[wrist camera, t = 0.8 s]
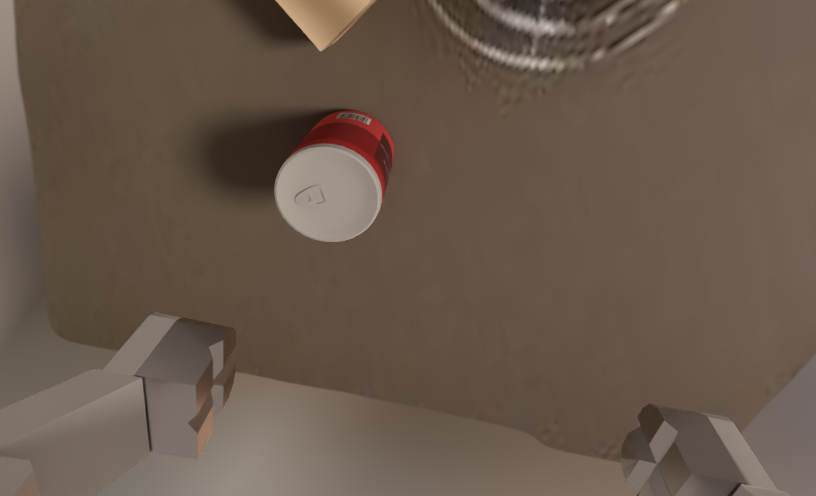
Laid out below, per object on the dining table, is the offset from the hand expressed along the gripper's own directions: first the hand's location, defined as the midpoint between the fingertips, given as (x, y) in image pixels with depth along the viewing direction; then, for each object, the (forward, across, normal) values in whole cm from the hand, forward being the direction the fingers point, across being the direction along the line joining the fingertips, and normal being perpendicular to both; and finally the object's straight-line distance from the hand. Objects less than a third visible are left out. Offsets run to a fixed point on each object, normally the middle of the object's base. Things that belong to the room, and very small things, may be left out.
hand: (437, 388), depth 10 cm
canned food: (+37, +6, +8) cm, 39 cm away
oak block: (+37, +9, -4) cm, 38 cm away
